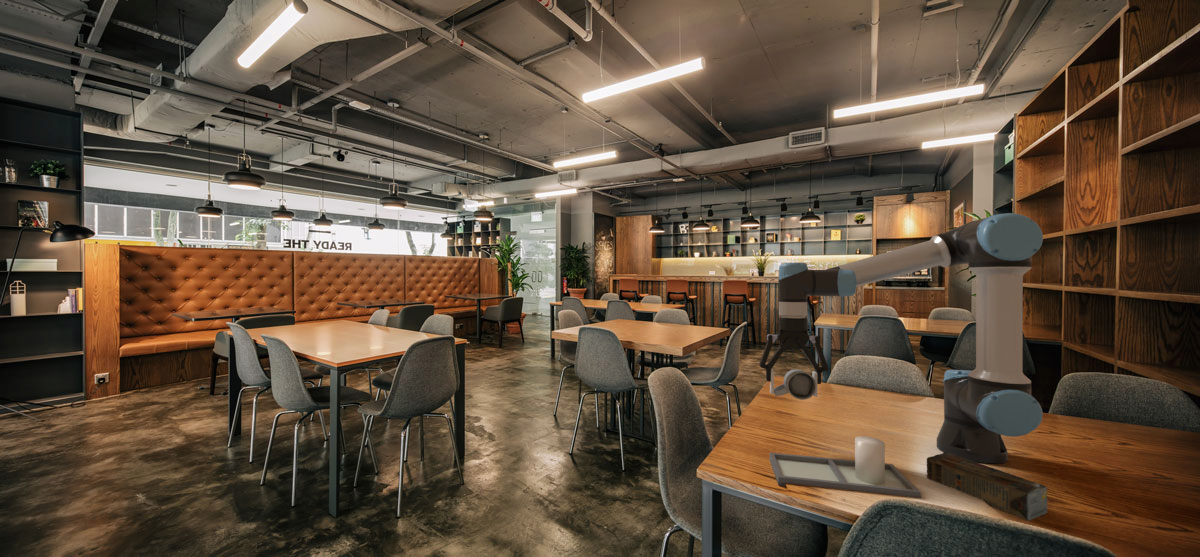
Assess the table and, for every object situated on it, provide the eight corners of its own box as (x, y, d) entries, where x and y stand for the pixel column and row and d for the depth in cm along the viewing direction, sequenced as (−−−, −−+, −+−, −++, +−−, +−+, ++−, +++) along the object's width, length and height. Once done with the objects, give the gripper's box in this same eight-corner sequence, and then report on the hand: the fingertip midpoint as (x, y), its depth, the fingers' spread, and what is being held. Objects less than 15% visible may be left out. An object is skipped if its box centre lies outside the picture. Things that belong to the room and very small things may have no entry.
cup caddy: (892, 472, 108) (892, 464, 108) (920, 501, 94) (920, 492, 94) (769, 459, 115) (769, 452, 115) (778, 485, 101) (778, 477, 101)
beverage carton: (1028, 523, 86) (1028, 490, 86) (924, 482, 103) (924, 454, 103) (1049, 514, 89) (1048, 482, 89) (944, 476, 106) (944, 449, 107)
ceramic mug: (809, 393, 126) (808, 366, 126) (817, 400, 118) (816, 372, 118) (770, 392, 128) (770, 366, 128) (776, 399, 120) (775, 371, 120)
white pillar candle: (879, 474, 105) (878, 437, 105) (889, 485, 99) (888, 446, 99) (851, 471, 106) (851, 435, 106) (860, 482, 101) (859, 444, 101)
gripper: (833, 316, 124) (834, 393, 123) (749, 315, 129) (749, 388, 129) (841, 318, 116) (841, 400, 116) (751, 316, 122) (751, 394, 122)
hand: (793, 394), depth 123 cm, fingers closed on ceramic mug, 11 cm apart
